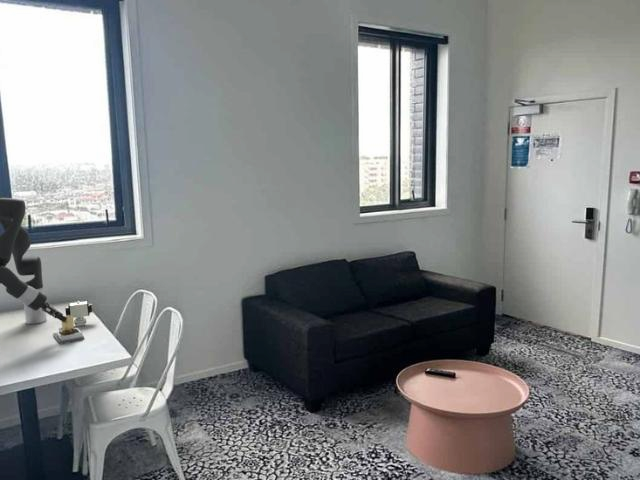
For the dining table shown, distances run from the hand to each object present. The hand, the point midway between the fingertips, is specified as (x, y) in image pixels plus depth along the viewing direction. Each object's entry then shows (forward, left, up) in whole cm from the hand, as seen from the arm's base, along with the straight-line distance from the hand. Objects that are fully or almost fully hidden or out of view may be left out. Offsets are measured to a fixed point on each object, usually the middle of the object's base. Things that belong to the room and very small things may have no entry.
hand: (63, 318), depth 233 cm
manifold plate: (-3, +2, -10) cm, 10 cm away
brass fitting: (0, +2, -9) cm, 9 cm away
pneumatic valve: (-20, +11, -10) cm, 25 cm away
